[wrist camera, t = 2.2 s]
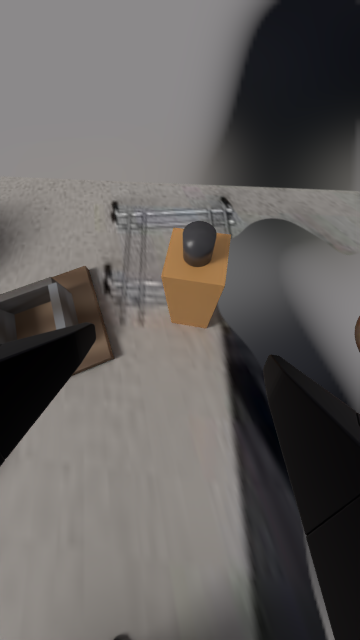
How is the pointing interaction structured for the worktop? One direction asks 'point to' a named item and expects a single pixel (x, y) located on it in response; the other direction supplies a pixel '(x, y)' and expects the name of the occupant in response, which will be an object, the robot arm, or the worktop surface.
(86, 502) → the worktop surface
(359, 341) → the pumpkin
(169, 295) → the plug
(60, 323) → the holder
